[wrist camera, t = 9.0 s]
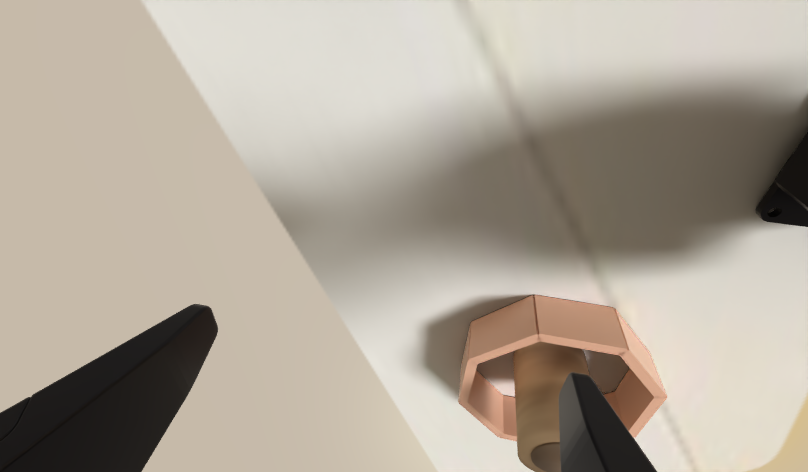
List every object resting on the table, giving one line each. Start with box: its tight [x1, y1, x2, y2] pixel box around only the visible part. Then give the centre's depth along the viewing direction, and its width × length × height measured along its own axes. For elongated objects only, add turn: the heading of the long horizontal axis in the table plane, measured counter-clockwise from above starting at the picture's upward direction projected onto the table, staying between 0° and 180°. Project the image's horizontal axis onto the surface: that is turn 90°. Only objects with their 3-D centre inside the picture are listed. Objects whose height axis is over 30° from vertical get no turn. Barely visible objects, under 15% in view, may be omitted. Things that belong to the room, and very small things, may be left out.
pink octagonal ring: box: [458, 295, 667, 441], centre depth 25 cm, size 11×11×3 cm
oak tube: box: [513, 342, 590, 472], centre depth 24 cm, size 5×5×7 cm
